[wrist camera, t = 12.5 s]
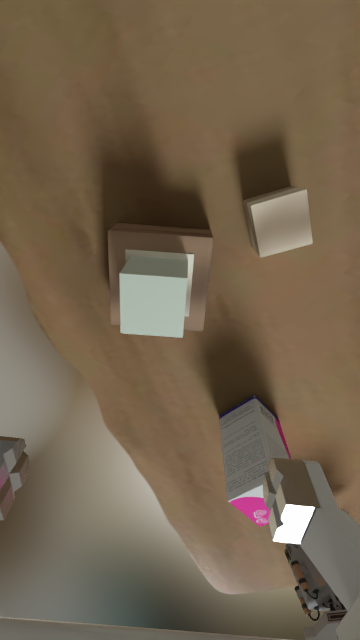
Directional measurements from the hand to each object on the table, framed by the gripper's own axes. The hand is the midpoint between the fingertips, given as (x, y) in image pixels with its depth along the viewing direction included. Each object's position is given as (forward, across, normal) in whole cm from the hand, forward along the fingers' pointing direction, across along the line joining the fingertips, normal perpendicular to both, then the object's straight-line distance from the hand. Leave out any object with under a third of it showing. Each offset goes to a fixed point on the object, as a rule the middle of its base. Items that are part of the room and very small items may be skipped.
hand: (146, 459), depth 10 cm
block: (+24, -8, -5) cm, 26 cm away
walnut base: (+24, +1, +1) cm, 24 cm away
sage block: (+20, +1, +1) cm, 20 cm away
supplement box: (+24, -11, +20) cm, 33 cm away
